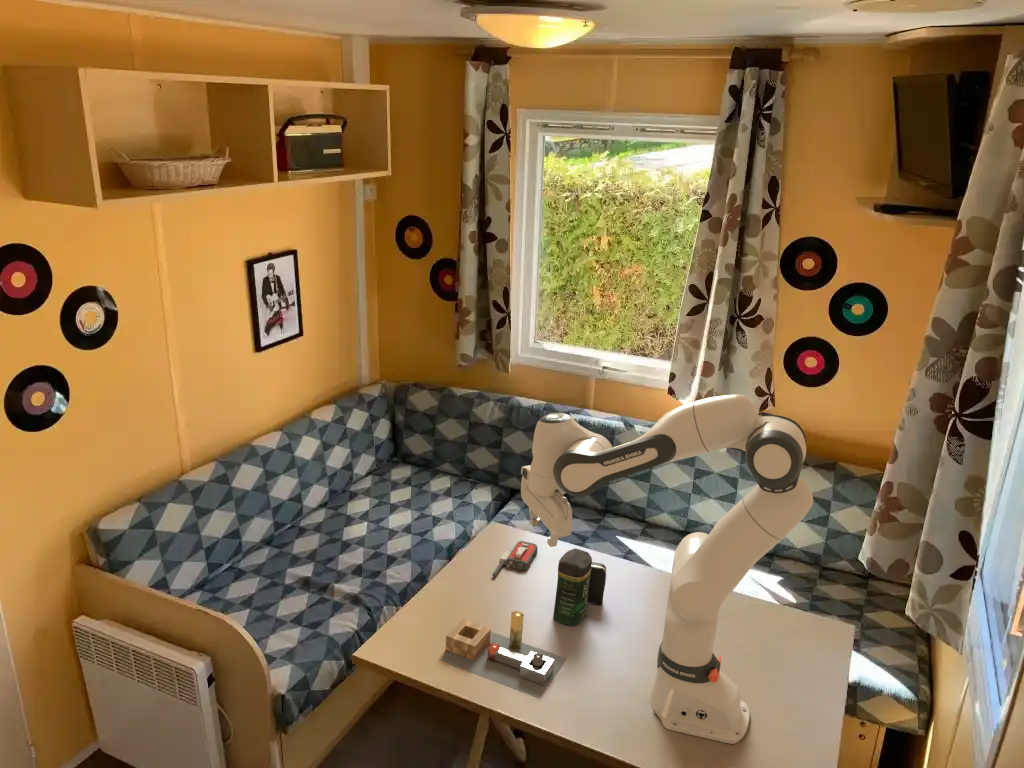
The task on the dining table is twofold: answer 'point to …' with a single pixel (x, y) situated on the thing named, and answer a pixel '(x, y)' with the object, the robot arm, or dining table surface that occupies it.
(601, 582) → the battery charger
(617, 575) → the dining table surface
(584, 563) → the coffee jar
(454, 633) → the slot block
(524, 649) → the mat
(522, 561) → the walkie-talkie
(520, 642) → the pin
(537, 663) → the post
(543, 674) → the knob socket block
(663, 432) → the robot arm
